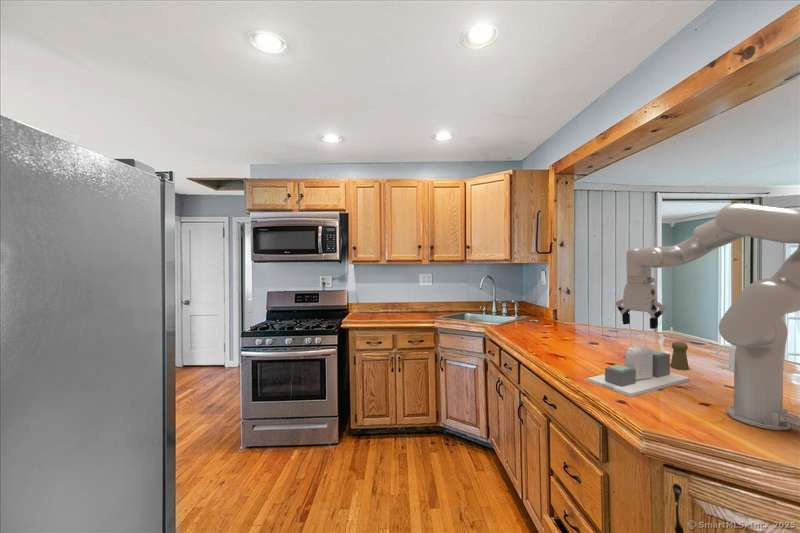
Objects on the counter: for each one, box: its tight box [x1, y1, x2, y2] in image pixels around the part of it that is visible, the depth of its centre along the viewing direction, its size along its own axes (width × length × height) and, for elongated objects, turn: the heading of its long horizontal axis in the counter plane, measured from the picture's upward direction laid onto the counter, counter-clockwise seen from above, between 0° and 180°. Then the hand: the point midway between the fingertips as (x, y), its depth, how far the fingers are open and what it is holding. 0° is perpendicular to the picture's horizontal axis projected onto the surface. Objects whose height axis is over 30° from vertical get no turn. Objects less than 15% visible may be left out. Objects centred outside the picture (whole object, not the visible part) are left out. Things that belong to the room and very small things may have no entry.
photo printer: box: [624, 344, 653, 380], centre depth 126 cm, size 10×4×12 cm, turn 106°
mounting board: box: [586, 349, 690, 398], centre depth 126 cm, size 16×35×10 cm, turn 113°
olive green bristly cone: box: [670, 341, 689, 371], centre depth 140 cm, size 6×6×11 cm
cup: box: [716, 344, 736, 374], centre depth 135 cm, size 8×12×10 cm
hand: (639, 326), depth 125 cm, fingers open, 9 cm apart
